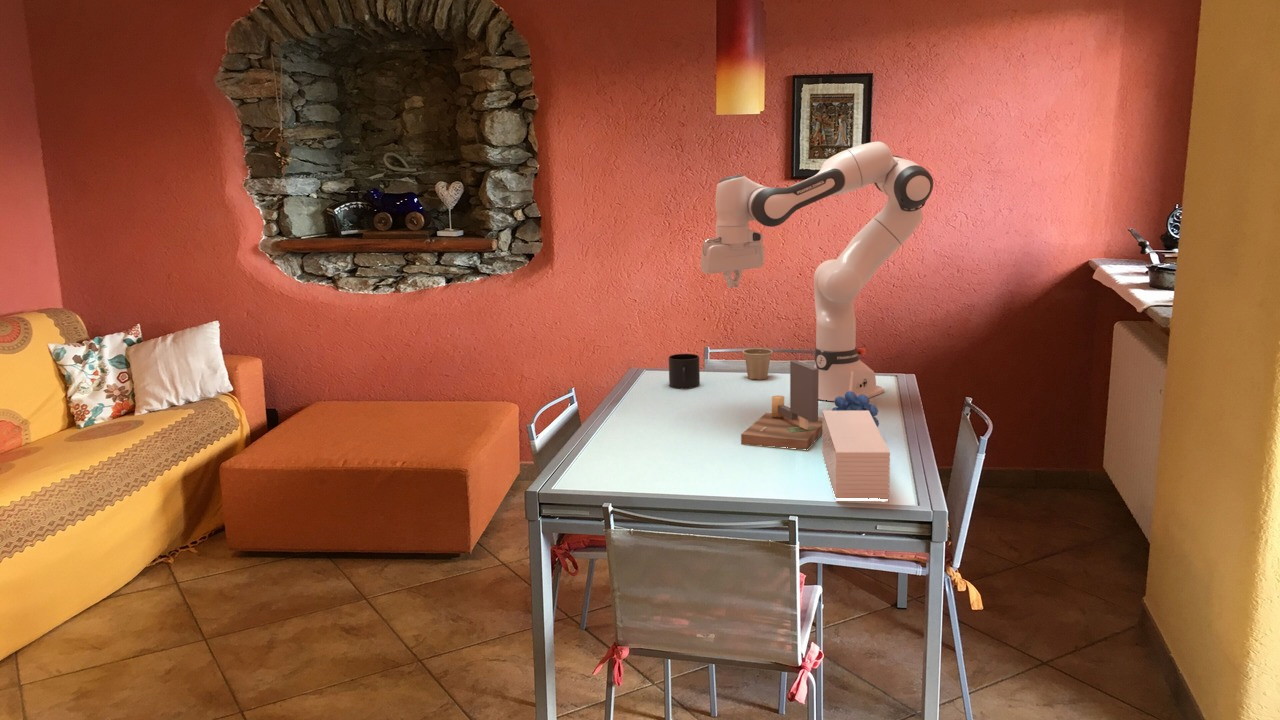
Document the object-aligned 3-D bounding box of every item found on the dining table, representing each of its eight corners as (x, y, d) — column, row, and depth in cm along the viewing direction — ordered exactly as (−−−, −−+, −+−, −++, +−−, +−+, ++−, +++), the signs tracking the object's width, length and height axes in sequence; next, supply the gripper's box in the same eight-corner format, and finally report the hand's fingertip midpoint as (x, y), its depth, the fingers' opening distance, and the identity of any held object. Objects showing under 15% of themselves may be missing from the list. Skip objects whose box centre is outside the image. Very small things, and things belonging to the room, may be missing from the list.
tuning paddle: (769, 414, 252) (769, 354, 248) (780, 413, 253) (780, 353, 249) (809, 435, 233) (809, 370, 229) (820, 433, 234) (821, 368, 230)
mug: (668, 391, 292) (667, 362, 290) (669, 381, 303) (669, 353, 301) (699, 390, 291) (699, 361, 289) (699, 381, 303) (699, 353, 301)
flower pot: (778, 376, 305) (778, 350, 304) (761, 382, 299) (761, 355, 297) (754, 373, 312) (753, 347, 310) (736, 378, 305) (736, 352, 303)
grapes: (832, 443, 236) (832, 395, 233) (830, 435, 242) (830, 388, 240) (880, 443, 234) (881, 395, 232) (877, 435, 241) (878, 388, 238)
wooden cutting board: (766, 421, 256) (766, 411, 255) (828, 427, 249) (828, 417, 248) (741, 443, 237) (741, 433, 236) (806, 450, 230) (807, 439, 230)
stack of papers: (888, 503, 196) (890, 452, 193) (835, 502, 197) (836, 452, 195) (868, 454, 227) (868, 410, 225) (822, 454, 228) (822, 410, 226)
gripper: (710, 239, 253) (711, 292, 256) (767, 234, 264) (767, 284, 267) (695, 238, 258) (696, 290, 261) (752, 233, 269) (752, 282, 272)
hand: (732, 287), depth 264 cm, fingers closed
